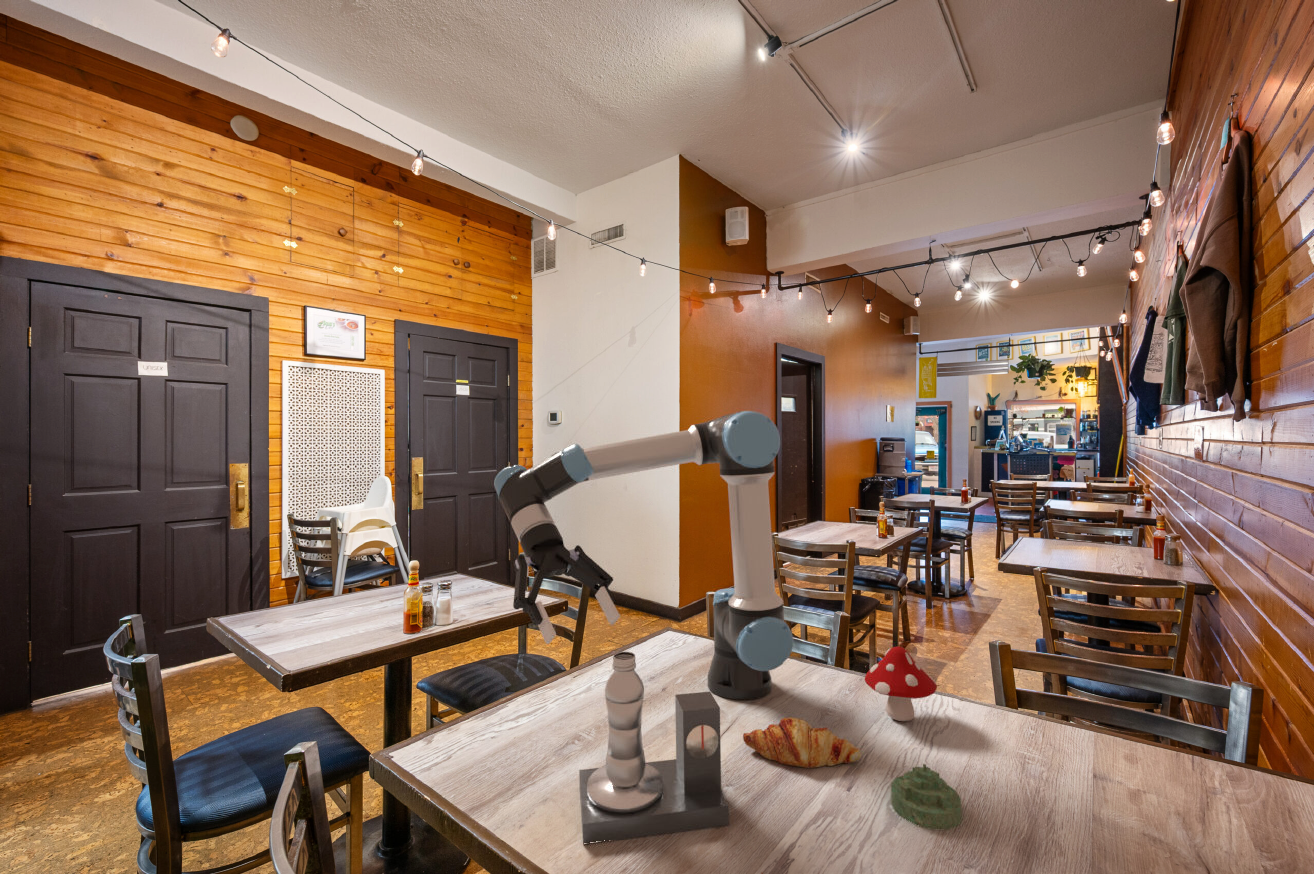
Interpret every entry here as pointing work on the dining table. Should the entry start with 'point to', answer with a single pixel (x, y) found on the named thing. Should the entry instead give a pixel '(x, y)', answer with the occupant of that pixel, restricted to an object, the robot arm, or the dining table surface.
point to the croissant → (801, 744)
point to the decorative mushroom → (900, 682)
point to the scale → (672, 782)
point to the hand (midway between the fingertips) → (584, 629)
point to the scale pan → (624, 791)
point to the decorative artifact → (926, 799)
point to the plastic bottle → (624, 722)
